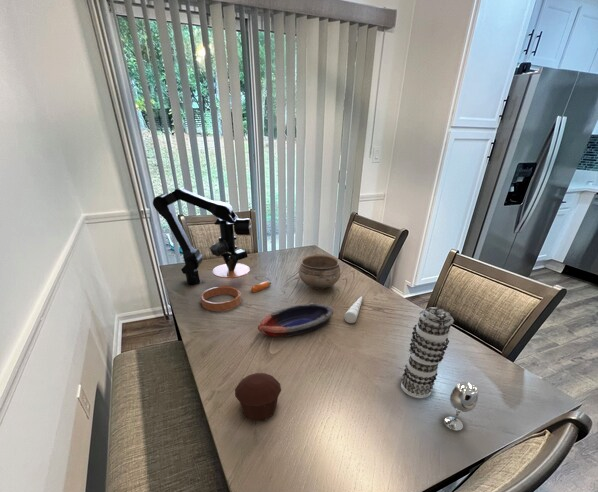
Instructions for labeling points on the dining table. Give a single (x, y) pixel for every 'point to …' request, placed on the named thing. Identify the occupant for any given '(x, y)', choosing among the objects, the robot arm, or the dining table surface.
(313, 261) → the cooking pot
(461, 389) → the wineglass
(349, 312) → the unicorn horn
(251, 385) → the muffin
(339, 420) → the dining table surface
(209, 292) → the faceted terracotta bowl
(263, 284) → the carrot
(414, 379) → the decorative candle
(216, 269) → the lid
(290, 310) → the dish
